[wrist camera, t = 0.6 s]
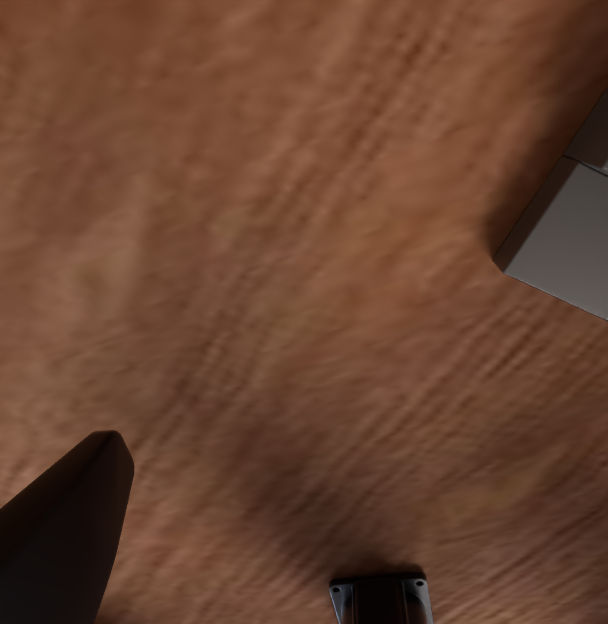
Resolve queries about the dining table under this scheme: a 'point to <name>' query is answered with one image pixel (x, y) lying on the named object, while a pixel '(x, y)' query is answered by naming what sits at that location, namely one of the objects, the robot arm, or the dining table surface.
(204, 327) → the dining table surface
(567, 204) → the step shelf
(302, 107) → the dining table surface
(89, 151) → the dining table surface
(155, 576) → the dining table surface
